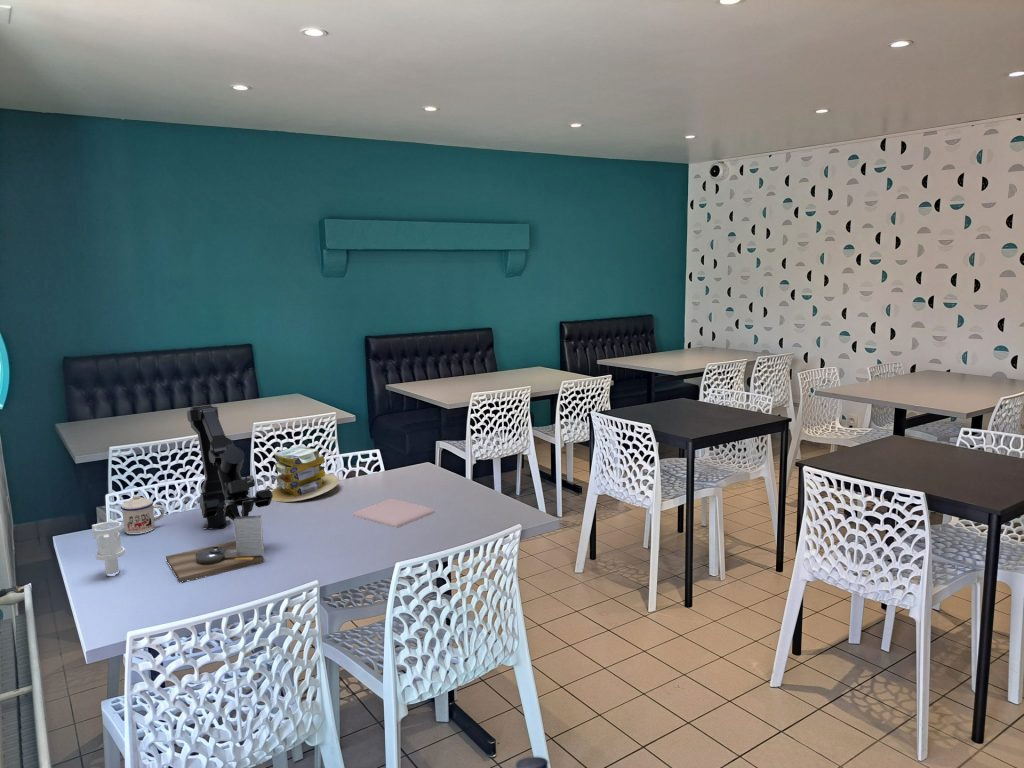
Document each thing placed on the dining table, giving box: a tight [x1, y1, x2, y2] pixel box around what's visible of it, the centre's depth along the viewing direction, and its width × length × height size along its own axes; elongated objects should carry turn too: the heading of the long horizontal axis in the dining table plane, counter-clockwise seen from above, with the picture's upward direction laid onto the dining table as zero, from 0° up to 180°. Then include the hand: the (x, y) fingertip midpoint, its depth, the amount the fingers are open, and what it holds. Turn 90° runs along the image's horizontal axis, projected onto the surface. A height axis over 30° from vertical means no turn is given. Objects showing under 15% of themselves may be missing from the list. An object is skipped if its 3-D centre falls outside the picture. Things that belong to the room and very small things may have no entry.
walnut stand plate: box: [165, 539, 265, 583], centre depth 208 cm, size 18×22×2 cm
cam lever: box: [196, 514, 265, 563], centre depth 206 cm, size 18×8×11 cm, turn 96°
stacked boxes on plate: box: [271, 444, 340, 503], centre depth 269 cm, size 25×25×17 cm
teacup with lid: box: [120, 494, 165, 533], centre depth 233 cm, size 12×9×12 cm
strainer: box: [91, 520, 126, 574], centre depth 200 cm, size 7×7×15 cm
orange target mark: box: [234, 557, 254, 560], centre depth 206 cm, size 5×1×1 cm, turn 87°
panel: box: [352, 497, 436, 529], centre depth 240 cm, size 35×33×2 cm
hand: (245, 529), depth 207 cm, fingers closed
